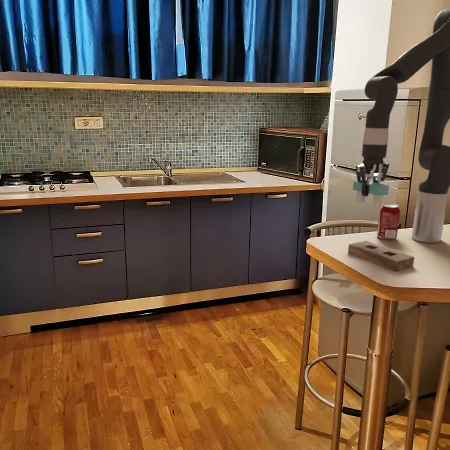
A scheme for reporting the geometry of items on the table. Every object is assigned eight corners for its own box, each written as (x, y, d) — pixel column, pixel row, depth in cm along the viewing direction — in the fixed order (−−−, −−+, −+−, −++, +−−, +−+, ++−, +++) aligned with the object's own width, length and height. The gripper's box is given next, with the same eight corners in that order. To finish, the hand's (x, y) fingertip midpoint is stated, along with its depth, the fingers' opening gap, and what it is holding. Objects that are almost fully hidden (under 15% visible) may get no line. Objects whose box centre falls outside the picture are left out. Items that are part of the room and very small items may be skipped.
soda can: (398, 241, 156) (402, 207, 153) (377, 239, 157) (381, 206, 154) (394, 235, 163) (399, 203, 159) (375, 234, 164) (379, 202, 161)
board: (365, 249, 147) (366, 240, 146) (413, 266, 133) (414, 257, 132) (347, 253, 143) (348, 244, 142) (395, 271, 128) (396, 261, 128)
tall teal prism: (359, 200, 154) (361, 180, 152) (386, 206, 145) (388, 185, 143) (351, 201, 152) (353, 181, 150) (378, 208, 143) (380, 186, 141)
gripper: (380, 140, 150) (374, 191, 155) (350, 142, 142) (345, 195, 147) (399, 142, 144) (393, 195, 148) (369, 144, 136) (363, 199, 141)
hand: (369, 194), depth 148 cm, fingers closed on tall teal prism, 4 cm apart
